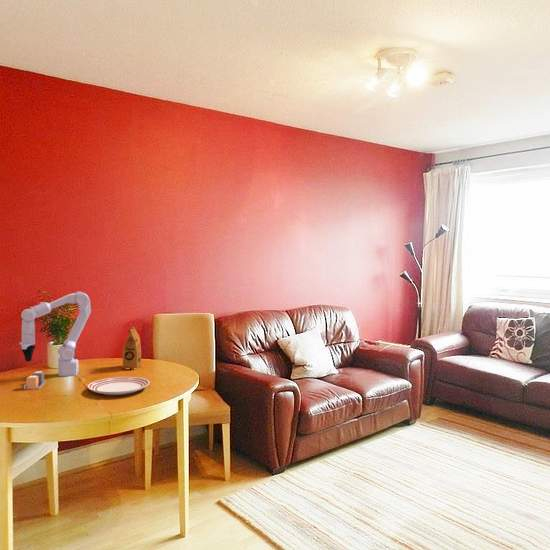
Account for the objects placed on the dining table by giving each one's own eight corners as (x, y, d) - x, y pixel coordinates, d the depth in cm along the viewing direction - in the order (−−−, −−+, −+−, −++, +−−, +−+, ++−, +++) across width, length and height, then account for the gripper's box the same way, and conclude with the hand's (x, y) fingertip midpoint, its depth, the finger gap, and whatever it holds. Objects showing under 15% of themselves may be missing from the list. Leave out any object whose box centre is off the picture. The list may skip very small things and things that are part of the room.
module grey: (43, 381, 227) (43, 370, 226) (41, 384, 223) (41, 373, 222) (34, 382, 226) (34, 371, 226) (32, 384, 222) (32, 373, 222)
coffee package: (119, 370, 257) (119, 330, 256) (125, 364, 269) (126, 326, 268) (137, 370, 257) (138, 330, 256) (143, 364, 269) (143, 326, 268)
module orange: (38, 386, 219) (38, 375, 219) (35, 388, 215) (35, 377, 215) (29, 386, 218) (29, 375, 218) (26, 389, 214) (26, 377, 214)
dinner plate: (88, 384, 228) (88, 377, 228) (146, 380, 238) (146, 373, 238) (87, 401, 203) (87, 394, 203) (152, 396, 213) (152, 388, 213)
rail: (46, 384, 226) (46, 377, 226) (39, 391, 215) (39, 384, 215) (31, 384, 225) (31, 378, 225) (24, 392, 213) (24, 385, 213)
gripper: (24, 331, 237) (24, 357, 237) (14, 336, 223) (14, 364, 223) (39, 331, 238) (39, 357, 239) (30, 336, 224) (30, 364, 225)
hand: (28, 361), depth 231 cm, fingers closed
